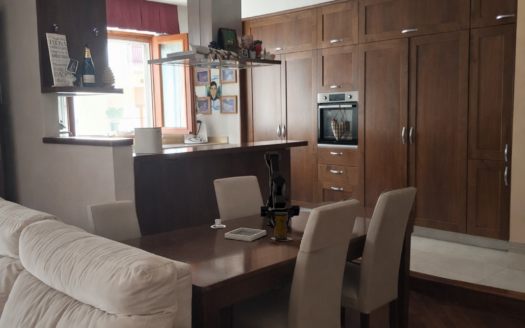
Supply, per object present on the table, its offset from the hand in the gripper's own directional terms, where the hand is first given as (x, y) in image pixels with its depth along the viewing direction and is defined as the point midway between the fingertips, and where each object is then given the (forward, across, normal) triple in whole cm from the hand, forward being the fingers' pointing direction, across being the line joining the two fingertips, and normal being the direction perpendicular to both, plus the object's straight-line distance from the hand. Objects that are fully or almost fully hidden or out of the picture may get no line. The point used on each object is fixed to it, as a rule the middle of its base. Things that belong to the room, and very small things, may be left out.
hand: (281, 225), depth 238 cm
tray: (-2, -16, +11) cm, 20 cm away
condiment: (+4, 0, +6) cm, 7 cm away
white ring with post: (-18, -32, +28) cm, 46 cm away
